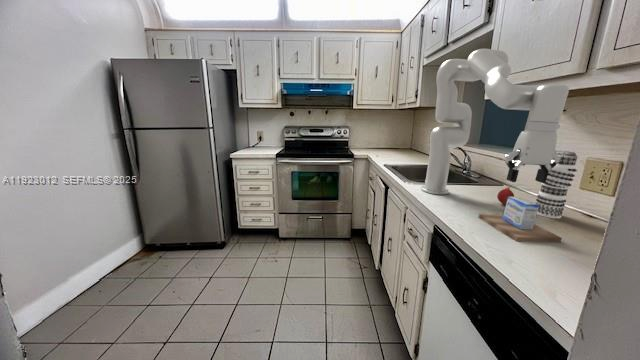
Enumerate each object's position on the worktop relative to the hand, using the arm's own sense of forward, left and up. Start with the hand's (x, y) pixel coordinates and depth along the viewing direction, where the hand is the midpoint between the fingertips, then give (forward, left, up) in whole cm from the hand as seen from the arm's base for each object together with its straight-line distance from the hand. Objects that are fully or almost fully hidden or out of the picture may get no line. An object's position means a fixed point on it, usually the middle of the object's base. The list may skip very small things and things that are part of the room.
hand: (525, 181), depth 82 cm
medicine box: (+1, 0, -15) cm, 15 cm away
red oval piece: (-23, +14, -17) cm, 32 cm away
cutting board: (+1, 0, -17) cm, 17 cm away
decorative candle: (-13, +24, -17) cm, 32 cm away
